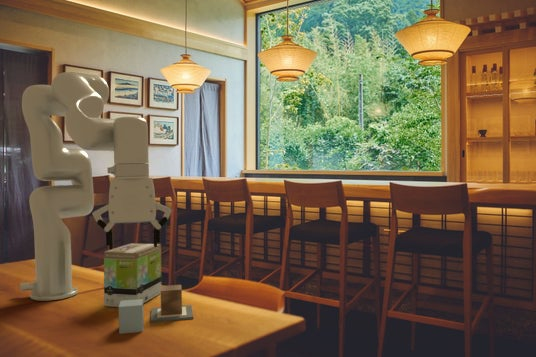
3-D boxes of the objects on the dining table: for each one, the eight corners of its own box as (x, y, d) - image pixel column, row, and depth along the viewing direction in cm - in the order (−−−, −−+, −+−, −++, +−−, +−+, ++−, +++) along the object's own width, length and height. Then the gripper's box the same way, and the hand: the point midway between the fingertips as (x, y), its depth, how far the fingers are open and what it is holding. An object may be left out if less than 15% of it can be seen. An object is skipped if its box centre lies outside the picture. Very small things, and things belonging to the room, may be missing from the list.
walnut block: (161, 315, 116) (160, 291, 116) (161, 309, 121) (160, 286, 120) (182, 314, 117) (181, 289, 117) (181, 308, 122) (181, 284, 121)
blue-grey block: (119, 333, 106) (118, 306, 105) (121, 326, 110) (120, 300, 110) (142, 331, 107) (142, 305, 106) (143, 324, 112) (143, 299, 111)
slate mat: (150, 322, 113) (150, 319, 113) (151, 309, 123) (151, 307, 123) (193, 318, 115) (193, 316, 115) (191, 306, 125) (191, 304, 125)
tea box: (138, 308, 124) (137, 251, 124) (103, 307, 126) (101, 251, 126) (162, 293, 139) (161, 242, 138) (130, 292, 141) (129, 242, 140)
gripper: (89, 173, 103) (91, 252, 103) (171, 171, 107) (173, 247, 107) (93, 172, 110) (95, 246, 111) (170, 171, 114) (172, 242, 114)
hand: (133, 247), depth 109 cm, fingers open, 9 cm apart
